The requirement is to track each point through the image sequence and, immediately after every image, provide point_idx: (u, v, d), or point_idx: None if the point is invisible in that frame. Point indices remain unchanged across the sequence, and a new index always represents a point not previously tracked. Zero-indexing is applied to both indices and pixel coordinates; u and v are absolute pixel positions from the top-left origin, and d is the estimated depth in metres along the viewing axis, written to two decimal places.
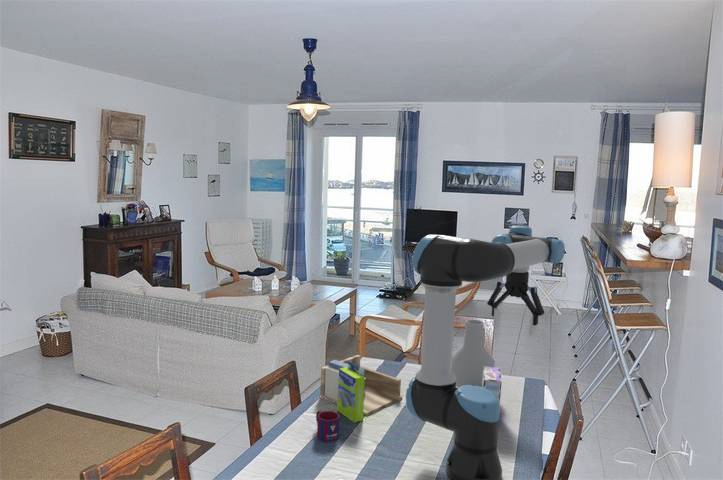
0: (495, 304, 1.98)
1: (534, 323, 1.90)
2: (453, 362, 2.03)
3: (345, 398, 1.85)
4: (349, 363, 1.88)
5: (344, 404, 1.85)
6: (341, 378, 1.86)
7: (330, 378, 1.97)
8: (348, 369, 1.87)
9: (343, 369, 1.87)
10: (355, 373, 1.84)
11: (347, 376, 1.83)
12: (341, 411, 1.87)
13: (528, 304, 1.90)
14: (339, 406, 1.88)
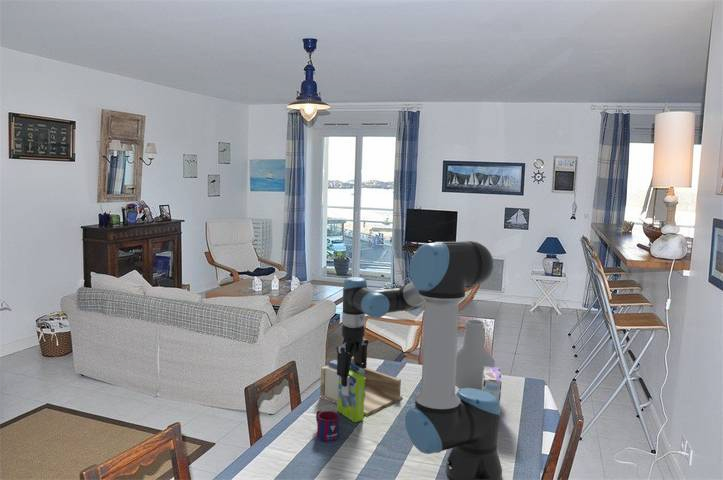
0: None
1: None
2: None
3: (345, 398, 1.85)
4: None
5: (344, 404, 1.85)
6: None
7: (330, 378, 1.97)
8: None
9: None
10: (355, 373, 1.84)
11: None
12: (341, 411, 1.87)
13: None
14: (339, 406, 1.88)
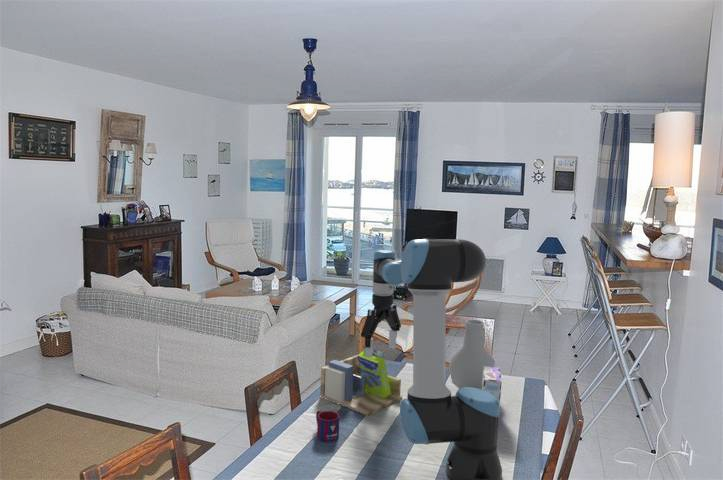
0: None
1: None
2: (453, 362, 2.03)
3: (370, 380, 2.00)
4: None
5: (370, 384, 2.01)
6: (361, 363, 2.00)
7: (330, 378, 1.97)
8: None
9: (361, 355, 2.00)
10: (374, 356, 1.97)
11: (367, 361, 1.97)
12: (368, 390, 2.03)
13: None
14: None
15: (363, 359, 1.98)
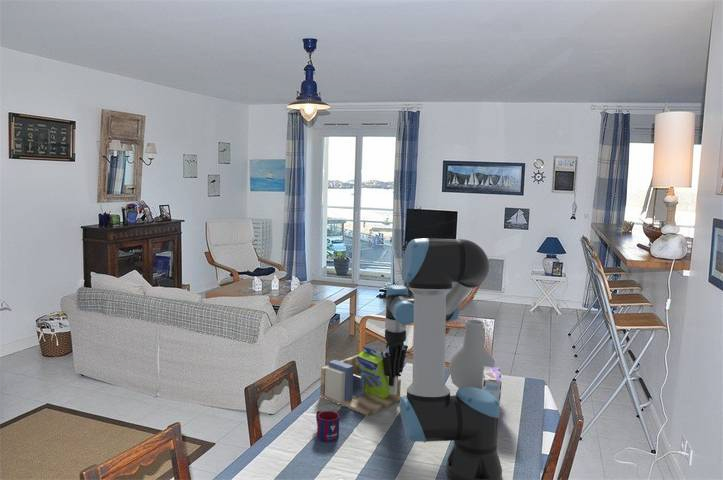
0: None
1: None
2: (453, 362, 2.03)
3: (370, 380, 2.00)
4: (364, 348, 2.01)
5: (370, 384, 2.01)
6: (361, 363, 2.00)
7: (330, 378, 1.97)
8: (365, 354, 2.00)
9: (361, 355, 1.99)
10: (373, 357, 1.97)
11: (367, 362, 1.97)
12: (368, 390, 2.03)
13: None
14: None
15: (363, 359, 1.98)
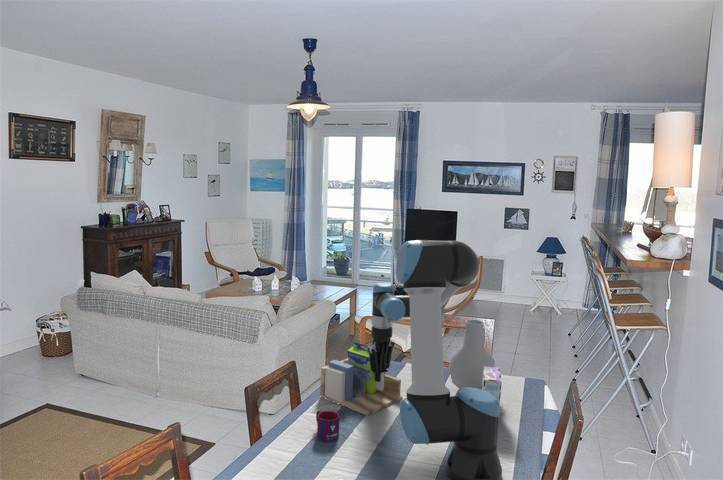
0: None
1: None
2: (453, 362, 2.03)
3: (358, 375, 2.03)
4: (354, 343, 2.05)
5: None
6: (351, 358, 2.04)
7: (330, 378, 1.97)
8: (355, 349, 2.04)
9: (351, 350, 2.04)
10: (364, 351, 2.02)
11: (358, 356, 2.01)
12: None
13: None
14: None
15: (353, 354, 2.02)
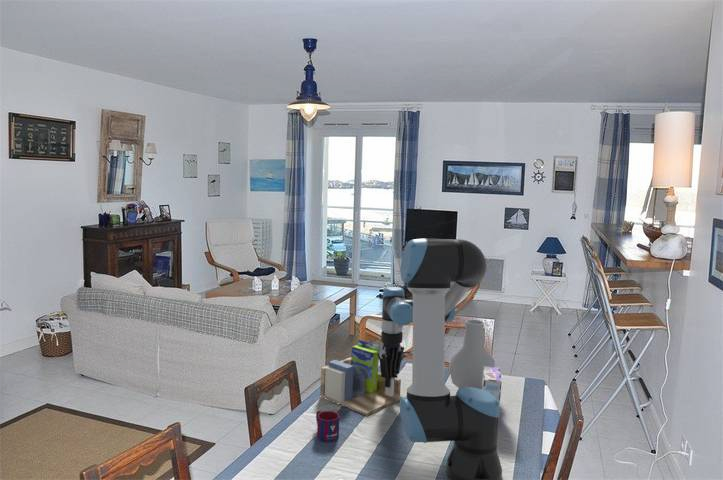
0: None
1: None
2: (453, 362, 2.03)
3: (359, 372, 2.05)
4: (360, 341, 2.09)
5: None
6: (355, 355, 2.06)
7: (330, 378, 1.97)
8: (360, 346, 2.08)
9: (356, 346, 2.07)
10: (369, 349, 2.05)
11: (362, 352, 2.04)
12: None
13: None
14: None
15: (358, 350, 2.05)
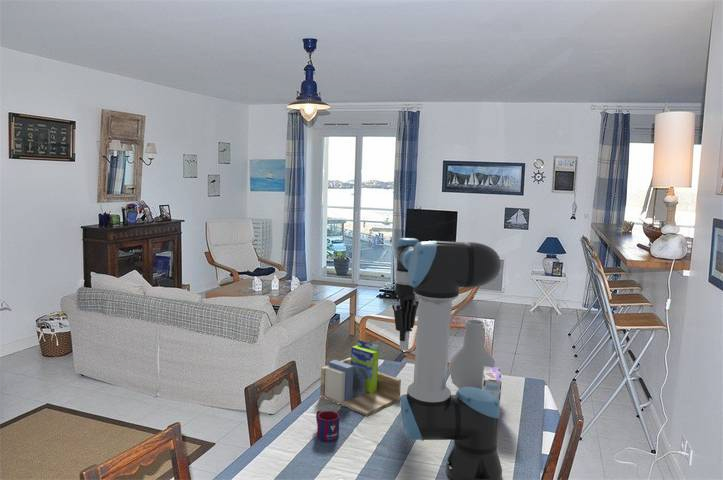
0: None
1: None
2: (453, 362, 2.03)
3: (359, 373, 2.05)
4: (359, 341, 2.09)
5: None
6: (354, 355, 2.06)
7: (330, 378, 1.97)
8: (360, 347, 2.08)
9: (356, 347, 2.07)
10: (369, 349, 2.05)
11: (362, 352, 2.04)
12: None
13: None
14: None
15: (357, 350, 2.05)
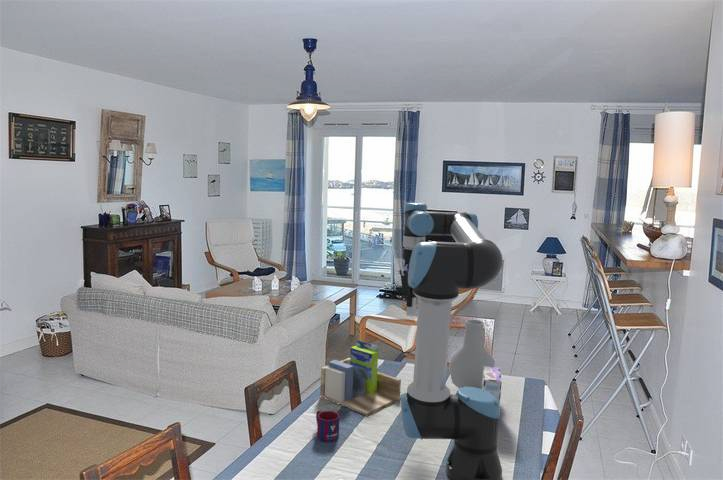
0: None
1: None
2: (453, 362, 2.03)
3: (359, 373, 2.05)
4: (358, 342, 2.09)
5: None
6: (354, 356, 2.06)
7: (330, 378, 1.97)
8: (359, 347, 2.07)
9: (355, 347, 2.06)
10: (368, 350, 2.05)
11: (361, 353, 2.03)
12: None
13: None
14: None
15: (357, 351, 2.05)
